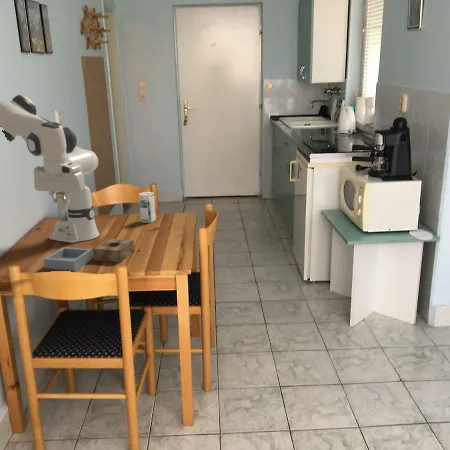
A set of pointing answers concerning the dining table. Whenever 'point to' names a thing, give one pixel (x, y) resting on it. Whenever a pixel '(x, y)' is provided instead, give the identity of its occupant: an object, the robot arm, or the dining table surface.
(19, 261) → the dining table surface
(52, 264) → the grey tray
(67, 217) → the metal pin
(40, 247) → the dining table surface
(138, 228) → the dining table surface
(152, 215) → the syrup box
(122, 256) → the walnut block
